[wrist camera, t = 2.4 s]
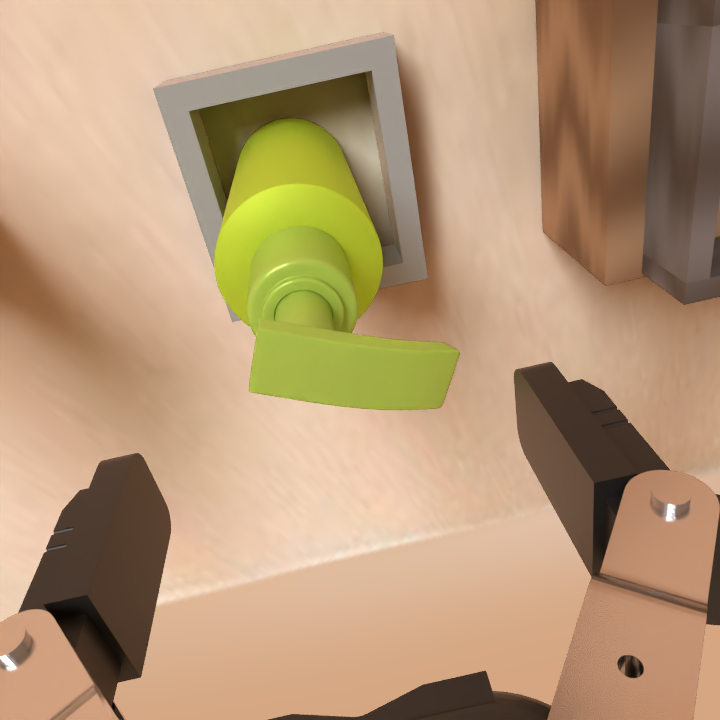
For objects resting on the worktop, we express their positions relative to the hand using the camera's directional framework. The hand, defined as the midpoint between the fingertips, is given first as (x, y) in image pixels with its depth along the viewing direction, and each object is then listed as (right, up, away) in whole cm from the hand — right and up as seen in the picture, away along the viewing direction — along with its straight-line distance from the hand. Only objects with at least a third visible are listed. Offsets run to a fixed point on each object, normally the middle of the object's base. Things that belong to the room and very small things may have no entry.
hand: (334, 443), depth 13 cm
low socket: (-2, +12, +20) cm, 23 cm away
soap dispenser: (-3, +12, +20) cm, 23 cm away
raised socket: (+17, +16, +20) cm, 30 cm away
